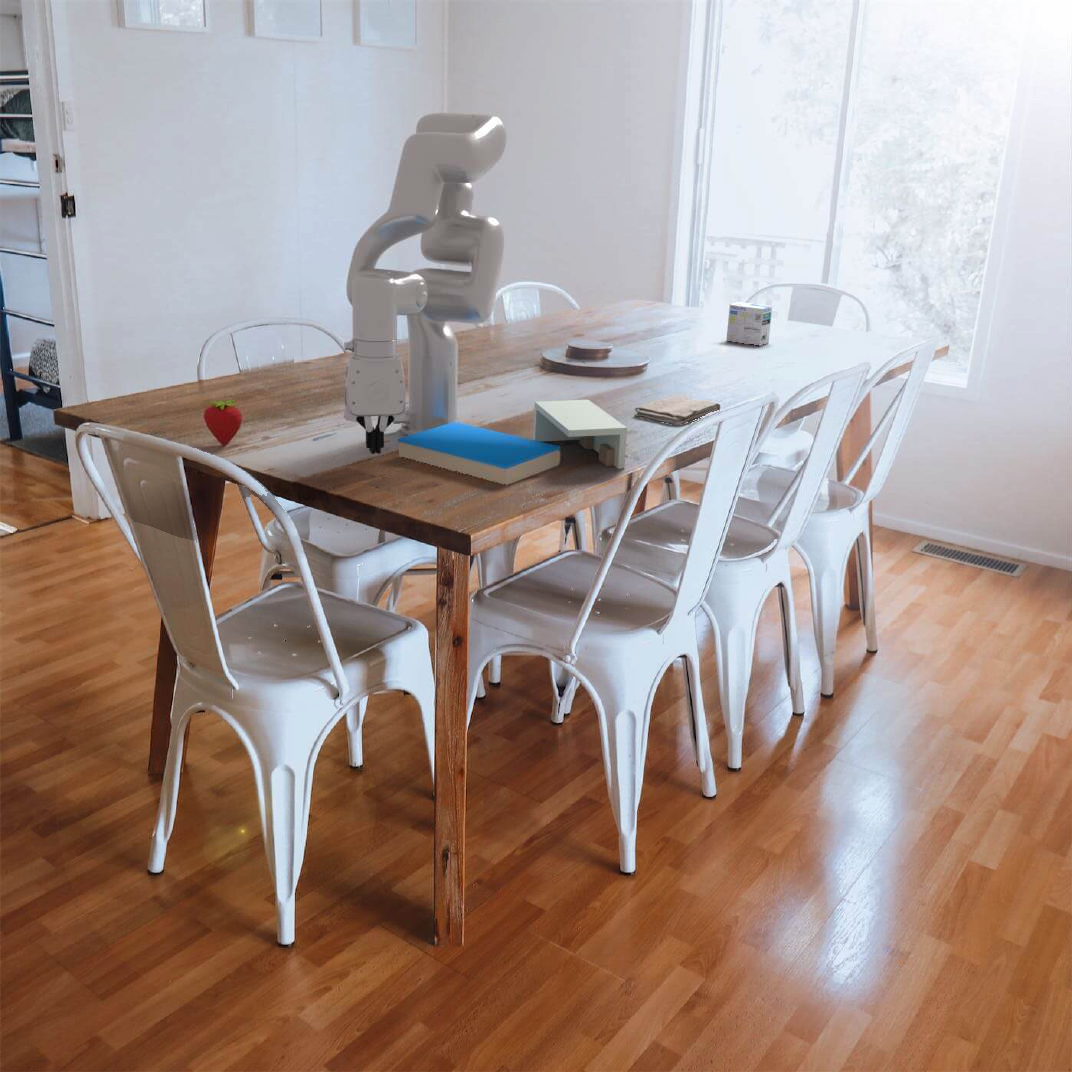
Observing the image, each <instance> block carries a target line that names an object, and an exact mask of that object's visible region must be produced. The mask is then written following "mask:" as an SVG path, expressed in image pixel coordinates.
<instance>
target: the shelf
mask: <svg viewBox="0 0 1072 1072" xmlns="http://www.w3.org/2000/svg"><path fill="white" fill-rule="evenodd" d="M533 405H534V406H533V407H534V409H533V410H534V411H533V412H534V413H533V435H532V437H533V438H532V440H535V441H539V442H556V441H577V440H578V441H579V445H581V447H583V448H584V449H585V450H594V451H596V452H597V453H598V461H599V462H601V463H602V464H603V465H604V466H606V467H612V466H614V467H615V468H616V469H617V470H623V468H624V469H625V464H626V463H625V462H626V450H627V434H628V433H627V432H628V427H627V426H626V425H624V424H623V423H621V422H620V421H618V420H617V419H616V418H614V417H613V416H612V415H610V414H609V413H608V412H606V411H605V410H603V409H602V408H601V407H599V406H598V405H597V404H595V403H594V402H592V401H591V400H589V399H568V400H567V399H566V400H545V401H540V400H539V401H534V404H533Z"/></svg>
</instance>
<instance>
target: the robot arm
mask: <svg viewBox="0 0 1072 1072" xmlns="http://www.w3.org/2000/svg"><path fill="white" fill-rule="evenodd" d="M504 125H505V124H504V123H503V122H502V120H501V119H500V118H499V117H497V116H494V115H490V114H478V113H477V114H476V113H475V114H474V113H455V112H434V113H429V114H426V115H424V116H422V117H420V118H419V119H418V121H417V123H416V126H415V127H416V128H415V133H413V134H411V135H410V136H409V137H408V138H407V139H406V140H405V142H404V144H403V147H402V151H401V154H400V155H401V156H400V160H399V163H398V169H397V173H396V176H395V179H394V180H395V181H394V184H393V189H392V194H391V198H390V203H389V207H388V209H387V210H386V212H385V213H384V214H382V215H381V216H380V217H379V218H378V219H376V221H374V222H373V223H372V225H370V226H369V228H368V229H367V230H366V231H365V232H364V233H363V234H362V236H361V237H360V239H359V240H358V242H357V243H356V245H355V247H354V250H353V253H352V256H351V261H350V263H349V269H348V274H347V278H346V279H347V280H346V287H345V288H346V296H347V297H346V298H347V300H348V302H349V303H350V305H351V307H352V337H351V339H350V341H348V342H347V341H345V342H343V348H344V351H349V352H351V353H352V354H351V355H349V356H348V359H347V366H346V372H345V374H346V375H345V384H344V385H345V386H344V387H345V388H344V404H345V409H344V412H343V417H344V419H345V420H346V421H348V422H353V423H358V424H359V425H360V427H362V428H363V429H364V430H365V448H366V449H368V450H369V452H370V454H371V455H375V454H377V455H381V453H382V450H381V449H384V448H385V432H386V431H387V428H388V427H390V426H391V424H392V423H393V425H400V432H401V433H402V434H404V435H405V436H409V435H412V434H415V433H419V432H422V431H425V430H429V429H432V428H436V427H439V426H442V425H446V424H449V423H452V422H458V423H462V422H460V421H458V370H459V369H458V367H459V366H458V363H459V362H458V361H459V360H458V359H459V348H458V347H459V345H458V340H457V336H456V335H455V333H454V330H453V328H452V327H451V325H450V324H449V322H453V323H461V324H462V323H463V324H471V325H480V324H484V323H485V322H487V321H488V320H489V319H490V318H491V316H492V314H493V311H494V307H495V303H496V298H497V293H498V286H499V281H500V274H501V269H502V263H503V259H504V258H503V257H504V251H505V235H504V231H503V227H502V225H501V224H500V222H499V221H498V220H497V219H496V218H494V217H492V216H488V215H480V214H471V213H472V208H473V207H472V206H473V201H474V189H473V186H472V184H473V183H475V182H477V181H479V180H480V179H481V178H483V177H484V176H485V175H486V174H487V173H488V172H489V171H491V169H492V168H493V167H494V166H495V165H496V164H497V163H498V162H499V161H500V159H502V157H503V154H504V152H505V149H506V146H507V132H506V128H505V126H504ZM420 234H421V235H420ZM418 235H420V252H421V255H422V256H423V258H424V259H425V260H427V261H429V262H431V263H434V264H439V265H446V266H447V265H449V266H459V267H460V266H461V267H470V268H471V271H464V270H455V269H453V270H452V269H445V268H434V267H433V268H432V267H425V268H418V269H415V270H413V271H405V270H395V269H384V268H376V265H377V263H378V261H379V259H380V258H381V256H382V255H383V254H384V253H385V252H386V251H387V250H388V249H390V248H391V247H393V246H394V245H396V244H399V242H403V241H405V240H408V239H410V238H412V237H414V236H418ZM398 316H405V317H406V322H407V336H408V339H407V340H408V344H407V345H408V353H407V354H408V357H407V359H408V360H407V361H408V375H407V376H408V379H407V380H408V381H407V382H408V405H406V404H407V403H406V382H405V371H404V364H403V359H402V357H401V356H399V355H398V354H397V353H398V351H397V350H398V347H397V346H398V344H397V343H398V341H397V340H398V339H397V338H398V329H397V328H398ZM372 417H377V421H376V425H375V427H374V426H373V421H372Z"/></svg>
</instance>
